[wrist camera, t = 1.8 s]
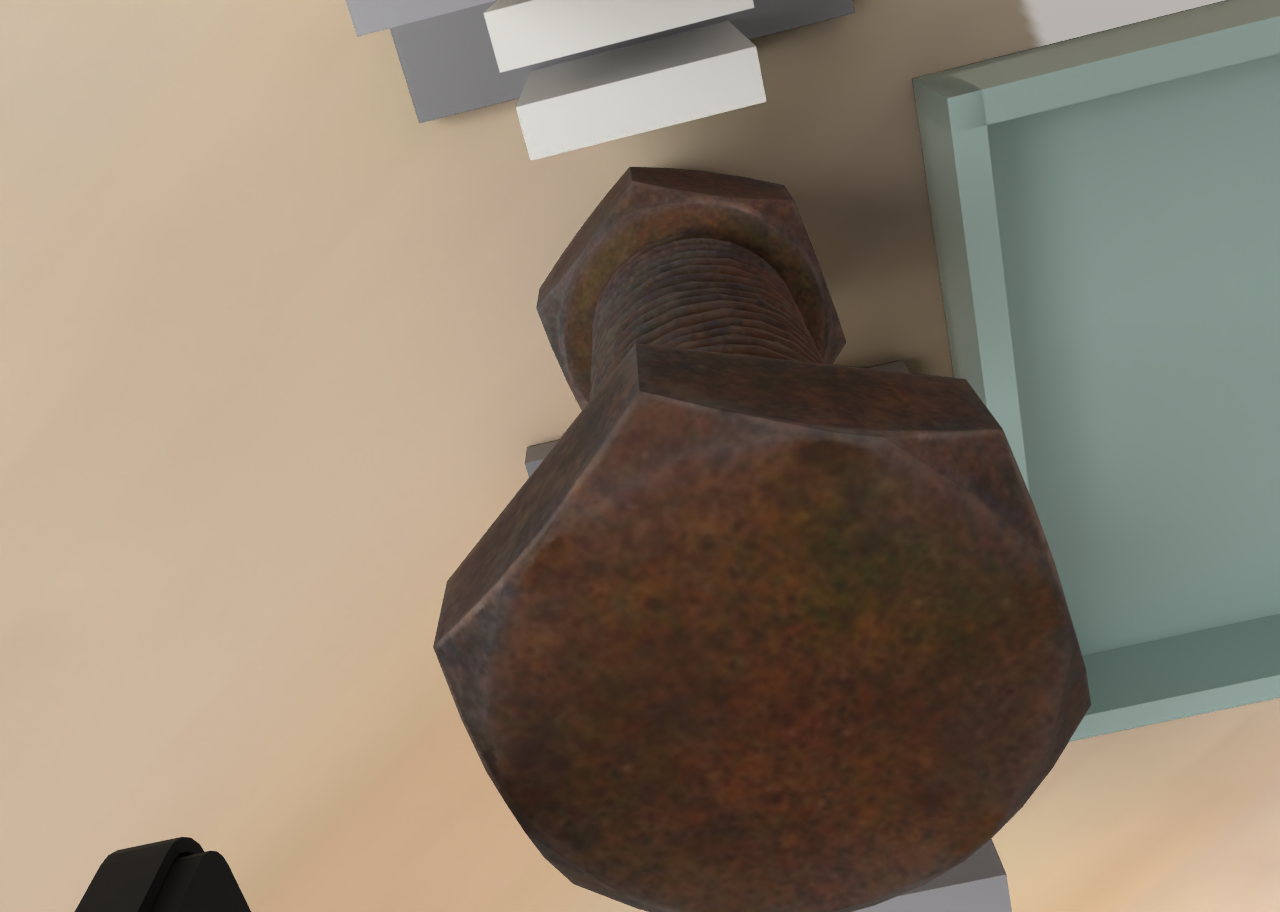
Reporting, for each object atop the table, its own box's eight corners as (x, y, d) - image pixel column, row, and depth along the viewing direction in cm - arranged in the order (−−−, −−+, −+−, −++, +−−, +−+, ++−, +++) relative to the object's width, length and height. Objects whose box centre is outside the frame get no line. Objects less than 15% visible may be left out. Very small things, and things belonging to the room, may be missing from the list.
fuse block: (271, -383, 19) (-144, -745, 9) (762, -525, 19) (979, -1100, 8) (618, 744, 29) (628, 1245, 18) (951, 673, 28) (1166, 1147, 17)
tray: (912, 79, 23) (947, 97, 20) (1458, -58, 22) (1558, -54, 20) (996, 681, 28) (1030, 749, 26) (1430, 589, 28) (1505, 651, 25)
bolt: (663, 38, 22) (765, 256, 8) (868, 202, 23) (1239, 617, 10) (485, 284, 24) (333, 789, 10) (684, 423, 25) (784, 1031, 12)
